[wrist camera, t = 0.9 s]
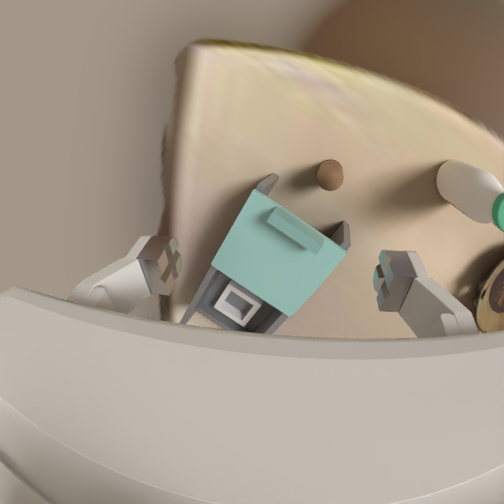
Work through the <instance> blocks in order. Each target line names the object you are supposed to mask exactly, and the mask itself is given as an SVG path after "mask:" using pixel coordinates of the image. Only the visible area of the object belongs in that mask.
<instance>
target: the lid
mask: <svg viewBox="0 0 504 504" xmlns="http://www.w3.org/2000/svg"><path fill="white" fill-rule="evenodd" d="M346 254H347V251H345V250H344V249H343V248H341V247H340V246H339V245H337V244H336V243H334V242H333V241H332V240H330V239H329V238H327V237H326V236H325V235H323V234H322V233H320V232H319V231H317V230H316V229H315V228H313V227H312V226H310V225H309V224H307V223H306V222H304V221H303V220H301V219H300V218H299V217H297V216H296V215H294V214H293V213H291V212H290V211H288V210H287V209H285V208H284V207H282V206H281V205H279V204H278V203H276V202H275V201H273V200H272V199H270V198H269V197H267V196H265V195H264V194H262V193H261V192H259V191H258V190H256V189H254V190H253V191H252V193H251V195H250V196H249V198H248V200H247V202H246V203H245V205H244V207H243V208H242V210H241V212H240V214H239V215H238V217H237V219H236V220H235V222H234V224H233V226H232V227H231V229H230V231H229V233H228V234H227V236H226V238H225V240H224V241H223V243H222V245H221V247H220V249H219V250H218V252H217V254H216V256H215V257H214V259H213V261H212V263H211V265H212V266H214V267H215V268H216V269H218V270H219V271H221V272H222V273H224V274H225V275H227V276H228V277H230V278H231V279H233V280H234V281H236V282H237V283H239V284H240V285H242V286H243V287H245V288H246V289H248V290H249V291H251V292H252V293H254V294H255V295H257V296H258V297H260V298H261V299H263V300H264V301H266V302H267V303H269V304H270V305H272V306H273V307H275V308H277V309H278V310H280V311H281V312H283V313H284V314H286V315H287V316H289V317H291V316H292V315H293V314H294V313H295V312H296V311H297V310H298V309H299V308H300V307H301V306H302V304H303V303H304V302H305V301H306V300H307V299H308V298H309V297H310V296H311V295H312V293H313V292H314V291H315V290H316V289H317V288H318V287H319V286H320V284H321V283H322V282H323V281H324V280H325V279H326V278H327V276H328V275H329V274H330V273H331V272H332V271H333V270H334V268H335V267H336V266H337V265H338V264H339V263H340V261H341V260H342V259H343V258H344V257H345V255H346Z"/></svg>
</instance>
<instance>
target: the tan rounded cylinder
mask: <svg viewBox="0 0 504 504" xmlns="http://www.w3.org/2000/svg"><path fill="white" fill-rule="evenodd" d="M316 179H317V182H318V184H319V186H320V187H321V188H323V189H325V190H328V191H333V190H336V189H338V188H339V187H340V186H341V184H342V182H343V171H342V167H341V165H340V164H339V163H338V162H337V161H335V160H326V161H324V162H323V163H322V164H321V166H320V168H319V169H318V172H317V175H316Z"/></svg>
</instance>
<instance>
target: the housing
mask: <svg viewBox="0 0 504 504" xmlns="http://www.w3.org/2000/svg"><path fill="white" fill-rule="evenodd" d="M278 178H279V176H278V175H276V174H274V173H273V174H271V175H270V176H268V177H267V178H265V179H264V180H262V181H261V182H259V184H258V185H257V187H256V190H258V191H259V192H261V193H262V194H264V195H265V196H268V194H269V192H270V191H271V189H272V188H273V186H274V184H275V183H276V181H277V180H278ZM330 240H332V241H333V242H334V243H336V244H337V245H339V246H340V247H341V248H343V249H344V250H345V251H346V250H347V249H348V248H349V247H350V246H351V245H350V232H349V224H347V223H346V222H345V221H343V222H342V223H341V225H340V226H339V227H338V229H337V230H336V231H335V233H334V234H333V235H332V236H331V238H330ZM196 310H197V311H198V312H200V313H201V314H203V315H204V316H206V317H207V318H208V319H210V320H211V321H213V322H214V323H216V324H217V325H219V326H220V327H222V328H224V329H225V330H232V331H241V332H251V333H261V334H272V333H273V332H274V331H275V330H276V329H277V328H278V327H279V326H280V325H281V324H282V323H283V322H284V321H285V320H286V319H287V318H288V316H287V315H286V314H284V313H283V312H281V311H280V310H278V309H277V308H275V307H273V306H272V305H270V304H269V303H267V302H266V301H264V300H263V299H261V298H260V297H258V296H257V295H255V294H254V293H252V292H251V291H249V290H248V289H246V288H245V287H243V286H242V285H240V284H239V283H237V282H236V281H234V280H233V279H231V278H230V277H228V276H227V275H225V274H224V273H222V272H221V271H219V270H218V269H216V268H215V267H214V266H212V265H211V267H210V269H209V270H208V272H207V274H206V276H205V278H204V279H203V281H202V283H201V285H200V287H199V288H198V290H197V292H196V294H195V296H194V298H193V299H192V301H191V303H190V305H189V307H188V309H187V310H186V312H185V314H184V316H183V318H182V320H181V322H180V323H181V324H186V323H187V322H188V321H189V319H190V318H191V317H192V316H193V314H194V313H195V312H196Z"/></svg>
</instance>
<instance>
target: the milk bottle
mask: <svg viewBox="0 0 504 504" xmlns="http://www.w3.org/2000/svg"><path fill="white" fill-rule="evenodd" d="M436 183H437V188H438V191H439V193H440V195H441V196H442V197H443V198H444V199H445V200H446V201H448V202H449V203H450V204H452V205H453V206H454V207H456V208H457V209H458V210H459V211H461V212H462V213H463V214H465V215H466V216H467V217H469V218H470V219H472V220H474V221H476V222H479V223H491V222H492V223H493V224H494V225H495V226H497V227H498V228H499V229H500V230H502V231H503V232H504V191H503V189H502V186H501V185H500V183H499V182H498V180H497V179H496V178H495V177H494V176H493V175H492V174H490V173H489V172H487V171H485V170H483V169H481V168H478V167H476V166H473V165H470V164H467V163H464V162H461V161H458V160H449V161H447V162H445V163H444V164H442V166H441V167H440V168H439V170H438V173H437V178H436Z"/></svg>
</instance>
